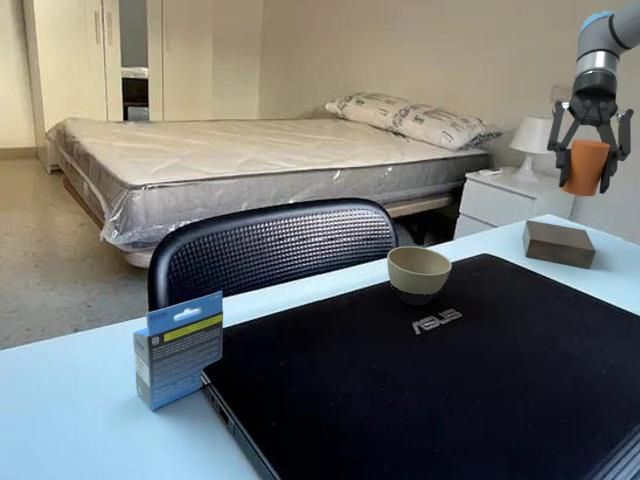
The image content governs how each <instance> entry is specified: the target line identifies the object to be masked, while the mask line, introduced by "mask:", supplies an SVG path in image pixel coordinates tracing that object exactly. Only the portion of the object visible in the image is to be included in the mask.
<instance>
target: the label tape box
mask: <svg viewBox="0 0 640 480" xmlns="http://www.w3.org/2000/svg"><path fill="white" fill-rule="evenodd" d="M223 297H224V296H223V290H220V291H217V292H214V293H211V294H208V295H204V296H202V297H198V298H194V299H191V300H187V301H184V302H181V303H177V304H174V305H171V306H167V307H165V308H161V309H157V310H153V311H148V312H146V313H145V319H146V327H145V328H143V329H139V330H136V331H134V332H133V333H132V339H133V352H134V369H135V384H136V393H137V395H138V396H139V397H140V398H141V400H142V401H143V402H144V403H145V405H146V406H147V408H149V410H150V411H155V410H157V409H159V407H160V408H162V407H164V406H166V405H168V404H170V403H172V402H174V401H177V400H178V399H181V398H183V397H186V396H187V395H190V394H192V393H194V392H197V391H198V390H200V389H199V388H200V387H201V371H202V370H203V369H204V368H205V367H206V366H208V365H210V364H212V363H214V362H216V361H218V360H220V359H221V358H223V335H224V333H223V332H224V329H223V328H224V310H223V309H224V308H223V302H224V301H223ZM186 310H188V311H193V312H189V313H187V314H184V312H185V311H186ZM194 310H195V311H194ZM181 314H184V315H181ZM178 315H180V316H178ZM176 316H178V317H176ZM176 399H177V400H176ZM161 406H162V407H161Z"/></svg>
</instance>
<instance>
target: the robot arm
mask: <svg viewBox="0 0 640 480" xmlns="http://www.w3.org/2000/svg"><path fill="white" fill-rule="evenodd" d="M638 46H640V0H633V1H631V2H630V3H628V4H627V5H625V6H624V7H623V8H621V9H619V10H618V11H616V12H614V11H611V10H602V12H596V13H593V14H591V15H589V16H588V17H587V18H586V19H585V20H584V21H583V23H582V25H581V28H580V33H579V35H578V38H577V51H576V52H577V54H576V62H575V69H574V76H573V84H572V91H571V97H570V100H569V101H568V102H562V101H561V100H556V101H555V102H554V105H553V107H552V109H551V113H552V118H553V121H552V124H551V129H550V132H549V137H548V141H547V145H546V150H547V151H548V152H554V153H555V157H556V159H555V164H554V167H555V169H556V170H560V172H559V173H560V174H559V180H558V188H560V187H562V188H563V187H564V185H565V183H566V182H567V179H568V171H569V163H570V155H571V148H568V147H569V145H570V143H571V141H573V138H574V136H575V135H576V133H577V131H578V130H579V127H580V126H591V127H594V128H596V129H595V130H596V132H597V133H598V135H599V138H600V142H603V143H606V144H609V145H610V146H611V147H610V150H609V153H608V156H607V159H606V163H605V166H604V169H603V172H602V175H601V179H600V182H599V192H598V193H599V194H602V195H605V193H606V192H607V191H608V189H609V188H610V183H611V177H612V178H613V177H614V175H615V174H616V173H617V171H618V162H619V161H620V162H625V161H626V160H627V158H628V157H629V155H630V154H631V152H632V145H631V144H632V139H631V137H632V136H631V133H632V132H631V131H632V130H631V119H632V117H633V115H634V113H635V110H634V109H632V108H628V109H626V110H624V109H621V108H619V106H618V104H617V94H618V93H617V92H618V81H619V80H618V79H619V69H620V68H619V67H620V59H621V55H623V54H624V53H626V52H628V51H630V50H632V49H635V48H636V47H638ZM567 111H568V113H569V114H570V115H571V116H572V118H573V121H572V123H571V125H570V126H569V128H568V130H567V131H566V134H565V135H564V137H563V139H562V140H561V141H558V139H559V135H560V131H561V127H562V122H563V116H564V115H565V114H566V113H567ZM614 116H615V117H616V123H617V124H618V126H617V127H618V128H617V140H616V137H615V134H614V131H613V128H612V124H611V120H612V118H613V117H614Z"/></svg>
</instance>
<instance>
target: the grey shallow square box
mask: <svg viewBox="0 0 640 480" xmlns="http://www.w3.org/2000/svg"><path fill="white" fill-rule="evenodd" d="M522 233H523V234H522V243H523V249H524V256H525V258H530V259H535V260H540V261H546V262H551V263H555V264H559V265H560V264H561V265H566V266H571V267H577V268H581V269H586V270H590V269H591V266H592V265H593V260H594V258H595V255H596V248H595V246H594V244H593V242H592V241H591V238H590V236H589V234H588V233H587V230H585V229H581V228H577V227H576V228H575V227H569V226H564V225H559V224H553V223H547V222H541V221H536V220H530V219H526V221H525V225H524V228H523V232H522Z"/></svg>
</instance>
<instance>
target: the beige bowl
mask: <svg viewBox="0 0 640 480" xmlns="http://www.w3.org/2000/svg"><path fill="white" fill-rule="evenodd" d="M386 257H387V260H386V263H387V265H386V266H387V272H388V273H387V274H388V279H389V281H390V285H391V284H392V285H393V286H394V287H396V288H398V289H399V290H401V291H404V292H408V293H412V294H422V295H423V294H424V295H426V294H433V293H436V292H438V291H439V290H440V291H441V289H442V288H443V286H444V285H445V283H446V281H447V279H448V278H449V276H450V273H451V270H452V267H453V265H452V262H451V260H449V258H448V257H446V256H445V255H443V254H442V253H440V252H438V251H435V250H433V249H429V248H426V247H421V246H409V245H407V246H406V245H405V246H399V247H395V248H393V249H391V250H389V252H388V253H387V256H386ZM392 285H391V286H392ZM440 291H439V292H440ZM439 292H438V293H439Z"/></svg>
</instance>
